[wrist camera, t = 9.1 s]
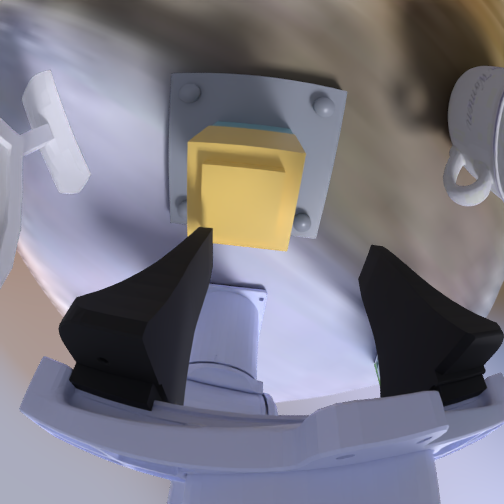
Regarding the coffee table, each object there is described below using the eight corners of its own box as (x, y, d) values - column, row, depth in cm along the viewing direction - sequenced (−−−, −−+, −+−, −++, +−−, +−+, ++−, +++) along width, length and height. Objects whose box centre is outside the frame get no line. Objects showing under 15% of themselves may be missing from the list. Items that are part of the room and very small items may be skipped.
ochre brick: (282, 209, 17) (287, 258, 13) (205, 201, 17) (184, 247, 13) (294, 134, 15) (308, 157, 10) (208, 125, 14) (184, 144, 10)
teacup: (489, 54, 11) (550, 64, 4) (513, 154, 16) (564, 186, 9) (382, 91, 16) (442, 102, 9) (424, 204, 21) (471, 255, 14)
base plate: (313, 231, 23) (322, 265, 19) (174, 216, 23) (156, 247, 19) (342, 91, 16) (365, 93, 12) (176, 73, 16) (151, 72, 12)
